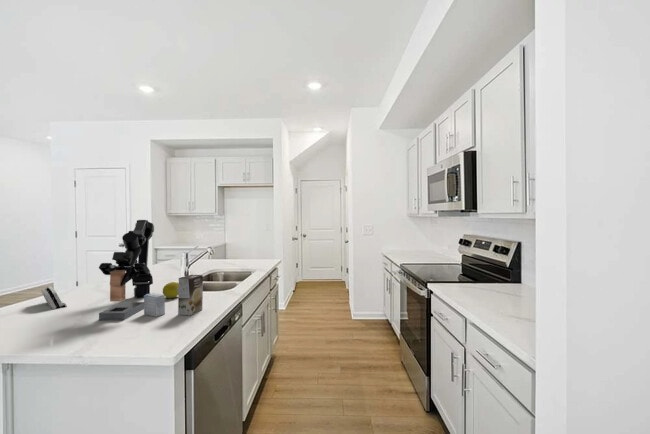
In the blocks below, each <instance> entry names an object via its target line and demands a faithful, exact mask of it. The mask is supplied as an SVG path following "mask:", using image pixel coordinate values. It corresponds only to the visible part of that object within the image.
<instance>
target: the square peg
mask: <svg viewBox="0 0 650 434" xmlns="http://www.w3.org/2000/svg"><path fill="white" fill-rule="evenodd" d="M125 274H126V270H115V271H111V272H110V275H109V292H110V293H109V302H123V301H124V300H126V284H127V283H126V284H124V285H123V286H121V282H122V280H123V278H124V276H125Z"/></svg>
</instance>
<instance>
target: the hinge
mask: <svg viewBox="0 0 650 434" xmlns="http://www.w3.org/2000/svg"><path fill="white" fill-rule="evenodd" d="M41 293H42V296H43V297H44V300H45V301H46V303H47V304H48V305H49V307H50V308H51V309H52V308H53V309H52V310H55V309H57V308H58V307H60V308H61V307H63V306H64V307H65V308H67V307H68V306H67V304H66V303H65V302H64V301H63V300H62V299H61V298H60V297H59V294H58V293H57V291H56V290H55V289H54V288H53V287H52V286H47V287H46V288H42V289H41Z"/></svg>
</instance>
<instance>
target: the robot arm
mask: <svg viewBox="0 0 650 434" xmlns="http://www.w3.org/2000/svg"><path fill="white" fill-rule="evenodd" d="M154 232H155V225H154V223H152V222H150V221H149V220H148V219H137V220H136V222H135V225H134V229H133V230H129V231H128V232H127V233H124V234H123V236H122V237H121V239H122V242H123V245H124V248H125V251H124V252H123V251H114V252H113V254H112V257H111V259H112V261H115V264H113V263H112V262H102V263H100V264H99V266H98V269H99V270H100V271H101V272H102V274H103V275H104V276H110V272H111V271H115V270H126V274H125V276H124V278H123V280H122V282H121V286H123V285H124V284H127V283H128V282H130V281H131V282H132V287H134V288H133V296H134V297H135V298H136V299H141V298H144V295H146V294H150V291H151V290H150V289H151V285H153V284H154V281H153V280H154V279H153V275H152V273H151V270H150V269H149V267H148V262H149V260H148V259H149V258H148V257H149V245H150V243H149V242H150V239H151V238H152V237H153V236H154V235H153V233H154Z"/></svg>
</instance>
